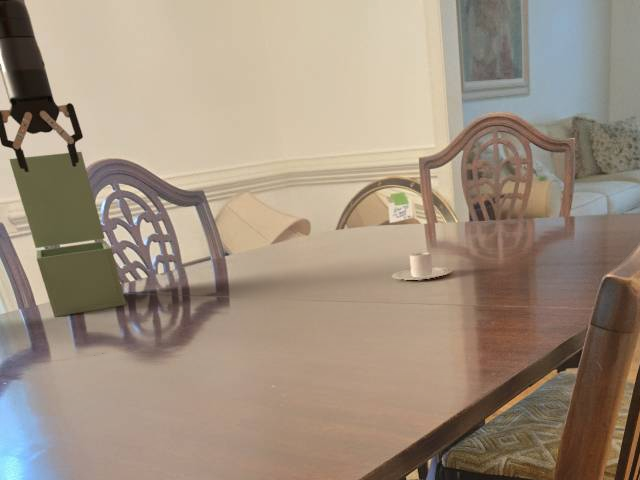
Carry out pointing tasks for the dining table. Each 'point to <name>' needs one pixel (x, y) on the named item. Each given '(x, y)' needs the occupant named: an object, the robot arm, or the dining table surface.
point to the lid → (57, 200)
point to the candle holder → (421, 267)
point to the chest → (80, 278)
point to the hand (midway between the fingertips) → (50, 169)
